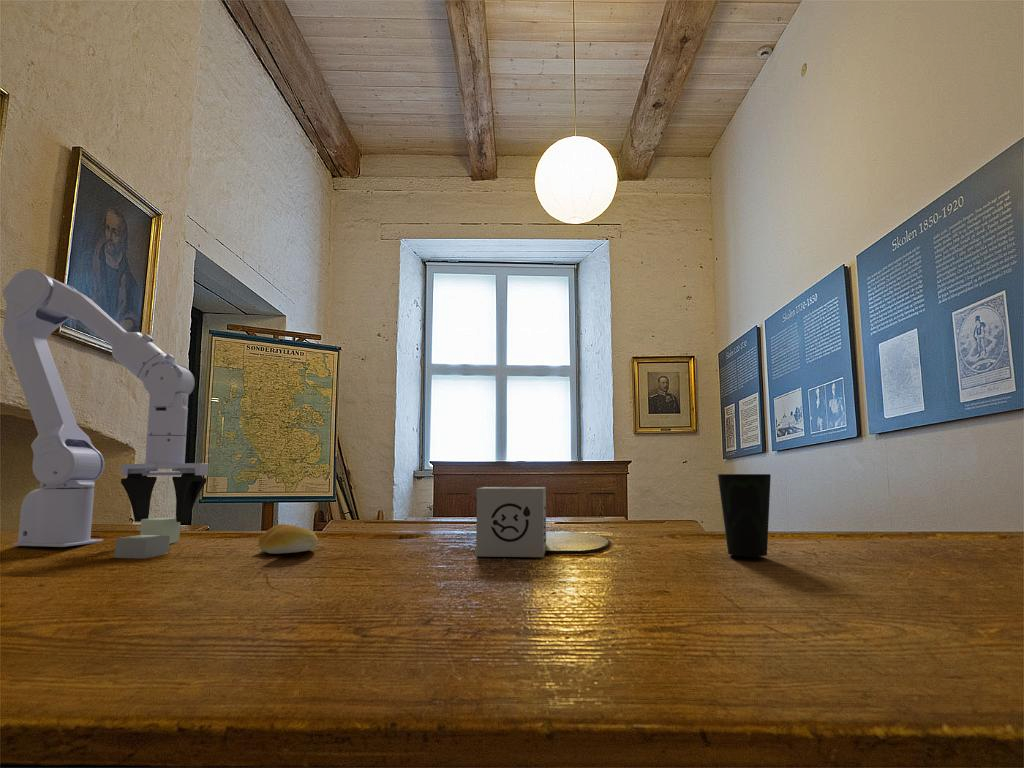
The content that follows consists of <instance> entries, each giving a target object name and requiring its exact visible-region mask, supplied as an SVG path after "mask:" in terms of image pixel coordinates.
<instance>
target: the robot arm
mask: <svg viewBox="0 0 1024 768" xmlns="http://www.w3.org/2000/svg"><path fill="white" fill-rule="evenodd" d="M2 295H3V298H4V300H5V303H6V306H5V312H4V313H5V314H4V320H3V321H4V322H3V328H2V335H3V339H4V341H5V345H6V347H7V350H8V351H7V352H8V353H9V356H10V359H11V361H12V364H13V367H14V369H15V372H16V375H17V379H18V382H19V385H20V387H21V391H22V393H23V396H24V398H25V400H26V401H25V402H26V403H27V406H28V409H29V412H30V415H31V418H32V420H33V423H34V426H35V429H36V432H37V436H36V437H35V438H34V440H33V441H32V443H31V445H30V446H31V450H32V453H33V460H32V467H31V468H32V473H33V475H34V477H35V478H36V480H37V481H38V482H39V488H36V489H33V490H31V491H30V492H28V493H27V494H26V495H25V496H24V499H22V503H21V507H20V515H19V516H20V517H19V526H18V527H19V528H18V538H17V542H12V546H14V547H18V546H19V547H21V546H22V547H49V548H50V547H54V548H64V547H74V546H80V545H81V546H83V545H89V544H96V543H100V542H103V541H104V539H103V538H92V537H91V535H92V521H93V511H94V498H95V486H96V485H95V484H96V481H97V480H98V479H99V478H100V477H101V476H102V475H103V472H104V470H105V465H106V464H105V463H106V462H105V459H104V456H103V454H102V453H101V451H99V450H98V449H97V448H96V447H95V446H94V444H92V443H93V442H92V441H91V438H90V436H89V435H88V434H87V433H86V432H85V431H84V430H83V429H82V428H80V427H79V426H78V423H77V421H76V417H75V415H74V412H73V409H72V407H71V404H70V401H69V398H68V396H67V393H66V390H65V387H64V385H63V382H62V379H61V377H60V374H59V371H58V368H57V365H56V363H55V360H54V357H53V354H52V351H51V349H50V346H49V344H48V341H47V340H48V338H49V337H50V335H51V334H52V333H54V332H55V331H56V330H57V329H59V328H60V327H61V326H62V325H63V324H64V323H65V322H67V321H68V320H69V319H72V320H74V321H75V320H76V321H79V322H80V323H81V324H82V325H84V326H85V327H87V328H88V329H89V330H90V331H92V332H93V333H94V334H96V335H97V336H99V337H100V338H101V339H103V341H105V342H106V343H107V344H108V345H110V346H111V354H112V357H113V358H114V360H116V361H117V362H118V363H119V364H120V365H121V366H123V367H124V368H125V369H126V370H128V371H129V372H130V373H131V374H132V375H134V376H135V377H136V378H137V379H139V380H140V381H141V382H142V383H143V387H144V389H145V390H146V391H147V393H148V395H149V401H148V402H149V404H148V416H147V427H146V428H147V430H146V443H145V445H146V447H145V459H144V460H145V461H144V462H143V463H122V464H121V475H120V476H122V477H126V478H120V483H121V485H122V487H123V488H124V491H125V492H126V495H127V497H128V498H129V503H130V505H131V509H132V513H133V514H132V515H133V519H134V522H135V523H138V522H139V523H141V519H149V517H150V507H151V499H152V494H153V490H154V487H155V484H156V482H157V480H158V478H157V477H158V476H172V478H171V479H172V483H173V487H174V492H175V501H176V502H175V518H176V521H177V522H181V523H186V522H189V521H190V517H191V515H192V511H193V509H194V506H195V503H196V501H197V498H198V496H199V494H200V493H201V491H202V489H203V487H204V486H205V485H206V483H207V477H203V476H208V475H209V466H210V465H209V463H207V462H192V463H191V462H189V463H188V462H187V463H186V446H187V445H186V444H187V431H188V429H187V428H188V414H189V413H188V412H189V408H188V406H189V395H191V394H192V393H193V391H194V389H195V383H196V381H195V376H194V374H193V373H192V372H191V370H190V369H189V368H188V367H187V366H185V365H182V364H176V363H175V359H176V357H175V356H174V355H173V354H171V353H166V352H164V351H163V350H161V348H159V347H158V346H157V345H156V344H155V343H153V342H154V341H155V339H154V337H152V336H151V335H149V334H148V333H144V334H142V333H141V332H140V331H130V332H129V331H127V330H126V329H124V327H122V326H121V325H120V324H119V323H118V322H117V321H116V320H115V319H114V318H112V317H111V316H110V315H109V314H108V313H107V312H105V310H103V309H102V308H101V307H100V306H99V305H98V304H96V302H94V301H93V299H91V298H90V297H88V296H87V295H86V294H83V293H82V292H80V291H78V290H77V289H76V288H75V287H74V286H72V285H71V284H67V283H63V282H61V281H59V280H57V279H55V278H53V277H50V276H48V275H47V274H45V273H44V272H43V271H41V270H38V269H34V268H28V269H23V270H20V271H18V272H16V274H14V275H13V276H12V277H11V279H10V280H9V282H7V285H6V286H5V287H4V289H2ZM161 469H162V470H171V471H172V472H167V471H165V472H162V471H161V472H158V471H159V470H161Z"/></svg>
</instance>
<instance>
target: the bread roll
mask: <svg viewBox="0 0 1024 768" xmlns="http://www.w3.org/2000/svg"><path fill="white" fill-rule="evenodd" d="M318 542H319V539H318V536H317V534H316V533H315V531H313V530H311V529H308V528H305V527H299V526H296V525H292V524H284V523H283V524H282V523H281V524H278V525H277V524H276V525H275V526H272V527H270V528H269V529H268V530H266V532H264V533H263V534H262V535H261V536H260V537H259V539H258V542H257V545H258V548H259V549H260V551H261V552H262V551H263V553H268V554H269V555H270V554H271V555H272V554H273V555H274V554H276V555H279V554H291V553H301V552H307V551H312V550H314V549H316V548H317V547H318Z"/></svg>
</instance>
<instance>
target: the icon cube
mask: <svg viewBox="0 0 1024 768" xmlns="http://www.w3.org/2000/svg"><path fill="white" fill-rule="evenodd" d="M475 531H476V533H475V534H476V542H475V543H476V545H475V547H476V551H475V553H476V554H475V555H476V557H494V558H495V557H501V558H502V557H503V558H507V557H508V558H510V557H511V558H513V557H514V558H544V557H545V554H546V549H547V548H546V547H547V488H546V486H527V487H526V486H483V487H478V488H476V530H475Z"/></svg>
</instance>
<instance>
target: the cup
mask: <svg viewBox="0 0 1024 768" xmlns="http://www.w3.org/2000/svg"><path fill="white" fill-rule="evenodd" d="M771 477H772V476H771V474H770V473H766V474H765V473H759V474H758V473H748V474H747V473H745V474H744V473H736V474H735V473H725V474H724V473H718V474H717V479H718V486H719V488H718V489H719V492H720V493H719V495H720V501H721V511H722V517H723V523H724V524H723V525H724V530H725V532H724V533H725V540H726V546H727V554H728V555H731V556H737V557H739V556H740V557H766V556H767V555H768V545H769V544H768V542H769V541H768V538H769V520H770V519H769V518H770V517H769V516H770V498H771V497H770V496H771Z"/></svg>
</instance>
